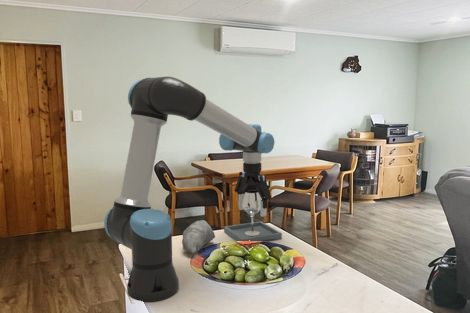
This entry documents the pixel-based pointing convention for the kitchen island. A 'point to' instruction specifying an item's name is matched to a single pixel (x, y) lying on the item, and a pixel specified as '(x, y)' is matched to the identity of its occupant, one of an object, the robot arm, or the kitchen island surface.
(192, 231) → the grey rock
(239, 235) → the tray
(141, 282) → the robot arm
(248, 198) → the wineglass
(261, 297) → the kitchen island surface
